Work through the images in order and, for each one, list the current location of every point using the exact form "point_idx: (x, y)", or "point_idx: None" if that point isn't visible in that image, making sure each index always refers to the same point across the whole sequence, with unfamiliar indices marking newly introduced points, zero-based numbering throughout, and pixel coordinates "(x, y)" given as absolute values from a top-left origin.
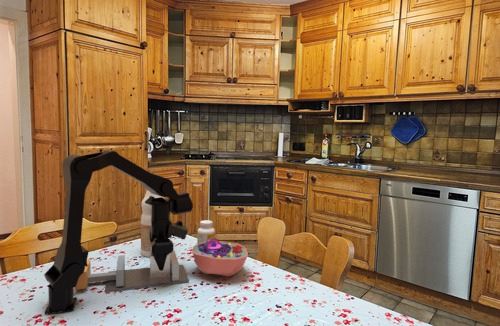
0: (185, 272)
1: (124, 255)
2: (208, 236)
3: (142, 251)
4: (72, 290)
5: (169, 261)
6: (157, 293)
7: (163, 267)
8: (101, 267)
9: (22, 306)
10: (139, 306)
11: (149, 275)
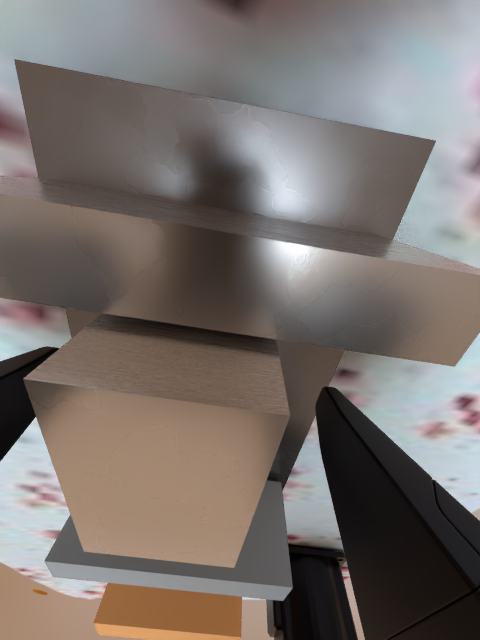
0: (249, 112)
1: (50, 561)
2: None
3: None
4: (333, 622)
5: (273, 348)
6: (409, 376)
7: (355, 409)
8: (37, 490)
9: None
10: (461, 447)
11: None
